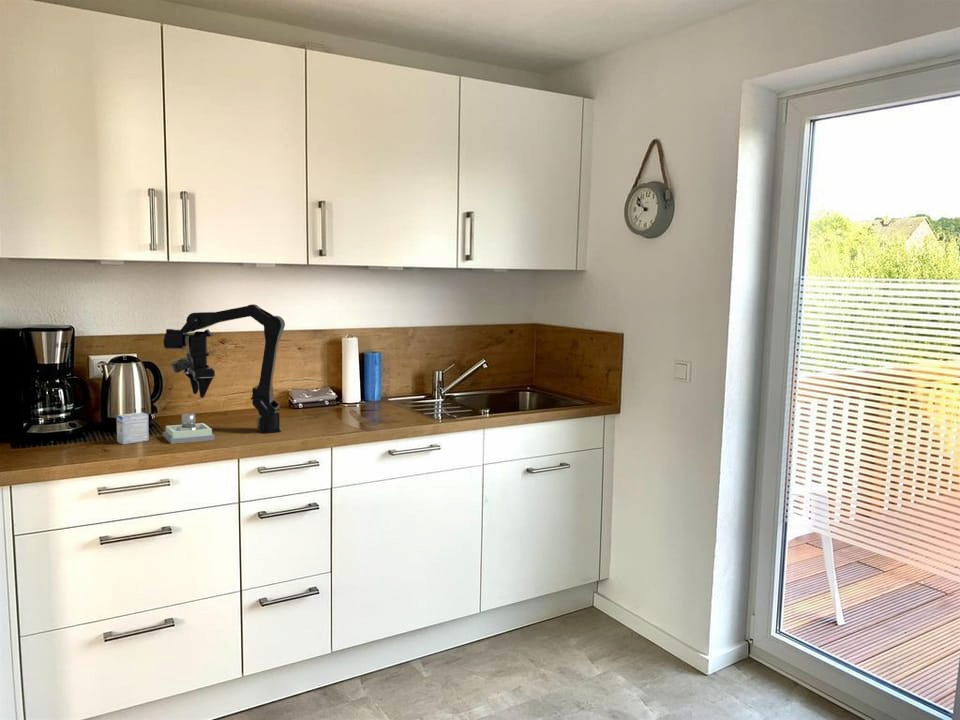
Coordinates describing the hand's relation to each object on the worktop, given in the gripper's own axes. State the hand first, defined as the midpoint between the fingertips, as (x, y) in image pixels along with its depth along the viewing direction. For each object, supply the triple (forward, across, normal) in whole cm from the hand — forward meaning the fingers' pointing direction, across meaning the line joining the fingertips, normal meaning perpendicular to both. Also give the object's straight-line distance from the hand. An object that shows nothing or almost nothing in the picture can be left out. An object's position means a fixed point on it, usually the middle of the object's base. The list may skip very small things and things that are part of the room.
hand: (198, 395), depth 238 cm
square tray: (+12, +11, -6) cm, 17 cm away
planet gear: (+10, +11, -6) cm, 16 cm away
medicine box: (+12, +9, -22) cm, 26 cm away
